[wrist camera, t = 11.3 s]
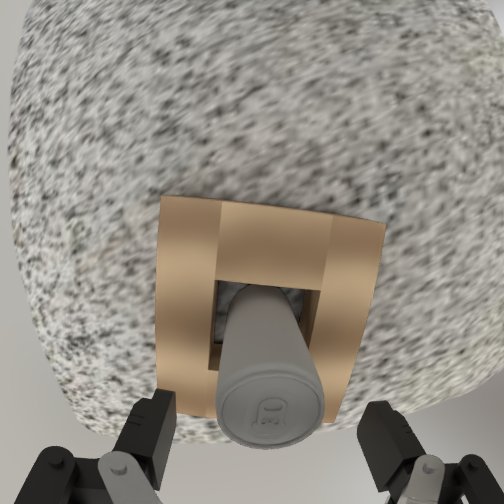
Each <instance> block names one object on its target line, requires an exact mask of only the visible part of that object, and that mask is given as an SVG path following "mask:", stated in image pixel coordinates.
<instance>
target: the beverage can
mask: <svg viewBox="0 0 504 504" xmlns="http://www.w3.org/2000/svg"><path fill="white" fill-rule="evenodd" d="M324 397H325V395H324V391H323V387H322V383H321V380H320V378H319V375H318V372H317V370H316V367H315V365H314V362H313V360H312V357H311V355H310V353H309V350H308V348H307V346H306V343H305V341H304V339H303V336H302V334H301V332H300V329H299V327H298V324H297V321H296V319H295V316H294V314H293V311H292V308H291V306H290V303H289V301H288V299H287V297H286V295H285V294H284V293H283V292H282V291H281V290H280V289H279V288H277V287H275V286H268V285H259V284H252V285H249V286H247V287H245V288H243V289H242V290H240V291H239V292H238V293H237V294H236V295H235V297H234V298H233V300H232V301H231V303H230V306H229V309H228V314H227V321H226V327H225V334H224V340H223V346H222V353H221V360H220V366H219V373H218V380H217V387H216V394H215V408H216V414H217V421H218V424H219V426H220V428H221V429H222V431H223V432H224V433H225V434H226V435H227V436H228V437H229V438H230V439H231V440H233V441H235V442H237V443H238V444H240V445H243V446H247V447H250V448H255V449H263V450H268V449H279V448H283V447H288V446H291V445H293V444H296V443H298V442H300V441H302V440H304V439H305V438H307V437H308V436H310V435H311V434H312V433H313V432H314V431H315V430H316V429H317V428H318V427H319V425H320V423H321V421H322V419H323V417H324V413H325V402H324Z"/></svg>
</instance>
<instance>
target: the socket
mask: <svg viewBox="0 0 504 504" xmlns="http://www.w3.org/2000/svg"><path fill="white" fill-rule="evenodd" d="M385 230H386V224H384V223H380V222H376V221H372V220H368V219H363V218H357V217H351V216H345V215H338V214H332V213H325V212H318V211H311V210H304V209H296V208H289V207H281V206H273V205H265V204H257V203H248V202H239V201H230V200H221V199H211V198H201V197H190V196H178V195H171V196H161V203H160V215H159V228H158V243H157V263H156V297H155V337H156V370H157V388H159V389H164V390H170V391H175V393H176V413H181V414H187V415H193V416H200V417H208V418H216V419H217V414H216V408H215V394H216V387H217V380H218V373H219V366H220V360H221V353H222V346H223V344H216V343H214V330H215V318H216V306H217V294H218V283H219V280H222V281H231V282H240V283H249V284H259V285H268V286H278V287H288V288H299V289H306V290H305V296H304V302H303V307H302V313H301V318H300V323H299V329H300V332H301V334H302V336H303V339H304V341H305V343H306V346H307V348H308V350H309V353H310V355H311V357H312V360H313V362H314V365H315V367H316V370H317V372H318V375H319V378H320V380H321V383H322V387H323V391H324V395H325V397H324V402H325V413H324V417H323V419H322V421H321V423H334V421H335V419H336V416H337V413H338V411H339V408H340V405H341V403H342V400H343V397H344V394H345V391H346V388H347V385H348V382H349V379H350V376H351V373H352V370H353V367H354V364H355V360H356V357H357V354H358V350H359V347H360V344H361V340H362V336H363V333H364V329H365V325H366V321H367V318H368V314H369V310H370V305H371V301H372V297H373V293H374V288H375V284H376V279H377V274H378V269H379V264H380V259H381V253H382V248H383V242H384V236H385Z"/></svg>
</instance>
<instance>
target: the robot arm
mask: <svg viewBox="0 0 504 504" xmlns="http://www.w3.org/2000/svg"><path fill="white" fill-rule="evenodd" d="M176 420H177V415H176V393H175V391H170V390H164V389H159V388H157V389H156V390H155V393H154V395H153V397H152V399H147V398H142V399H140V400H139V401H138V402H137V403H135V404H134V406H133V408H132V410H131V412H130V415H129V416H128V418H127V420H126V423H125V425H124V427H123V429H122V431H121V433H120V436H119V438H118V440H117V442H116V444H115V447H114V449H113V450H112V451H111V452H108V453H106V454H104V455H103V456H102V457H101V458H97V459H87V458H76V457H74V456H73V454H72V453H71V452H70V451H69V450H67V449H65V448H63V447H60V446H50V447H47V448H45V449H44V450H42V452H41V453H40V454H39V456H38V458H37V460H36V462H35V463H34V465H33V467H32V469H31V471H30V473H29V475H28V477H27V478H26V481H25V482H24V484H23V486H22V488H21V490H20V492H19V494H18V496H17V498H16V501H15V502H14V504H163V503H162V502H161V501H160V499H159V498H158V496H157V494H156V493H155V491H154V490H157V491H159V490H160V486H161V482H162V478H163V474H164V470H165V467H166V463H167V459H168V455H169V451H170V448H171V444H172V440H173V437H174V433H175V428H176ZM357 438H358V441H359V443H360V446H361V448H362V451H363V453H364V456H365V458H366V461H367V463H368V466H369V468H370V471H371V474H372V476H373V479H374V481H375V484H376V487H377V489H378V492H383V491H388V490H389V492H390V495H389V496H388V497H387V499H386V501H385V504H463V502H462V500H461V497H462V496H463V495H464V494H465V496H466V498H467V500H468V502H469V504H504V493H503V491H502V489H501V488H500V486H499V484H498V483H497V481H496V479H495V478H494V476H493V474H492V473H491V471H490V470H489V468H488V466H487V465H486V464H485V462H484V460H483V459H482V458H481V457H479V456H477V455H474V454H469V455H466V456H464V457H463V458H462V459H461V461H460V462H459V463H450V464H444V463H443V462H442V460H441V459H440V458H438V457H436V456H434V455H427V454H426V452H425V451H424V449H423V447H422V446H421V444H420V442H419V441H418V439H417V437H416V436H415V434H414V433H413V431H412V429H411V427H410V426H409V424H408V422H407V421H406V419H405V417H404V416H402V415H401V414H400V413H399V412H398V411H396V410H393V409H392V408H391V406H390V404H389V403H388V402H387V401H386V400H384V401H372V402H369V403H368V405H367V407H366V409H365V411H364V414H363V416H362V418H361V420H360V423H359V425H358V428H357Z"/></svg>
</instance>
